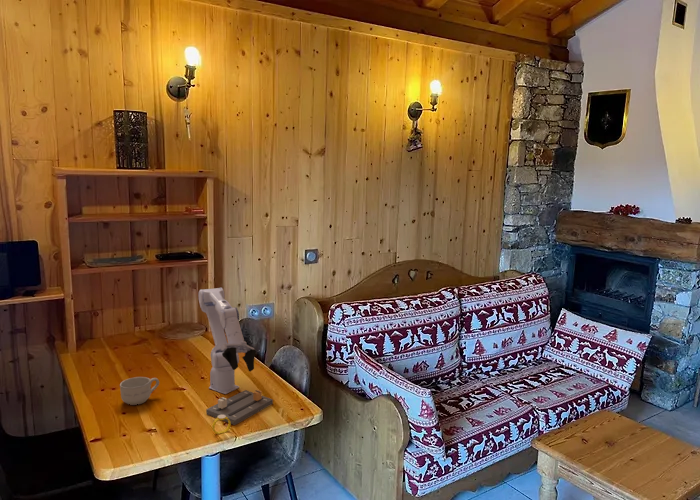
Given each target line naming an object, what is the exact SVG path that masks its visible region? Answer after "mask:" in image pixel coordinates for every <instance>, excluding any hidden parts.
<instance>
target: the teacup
mask: <svg viewBox="0 0 700 500" xmlns="http://www.w3.org/2000/svg"><path fill="white" fill-rule="evenodd" d="M154 381H155V382H156V383H155V385H154V386H152V383H153V382H154ZM159 385H160V381H159V379H158V378H157V377H152V378H149V377H146V376H135V377H130V378H126V379H124V380H122V381H121V382H120V384H119V388H120V390H119V391H120V398H121V400H122V402H123V403H125V404H127V405H129V404H130V406H135V405H136V406H138V405H141V404H144V403H145V402H147V400H148V399H149V398H150V397H151V394H152V393H153V392H154V391H155V390H156V389H157V387H159ZM151 387H152V388H151ZM137 404H138V405H137Z"/></svg>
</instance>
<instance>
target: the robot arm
mask: <svg viewBox="0 0 700 500" xmlns="http://www.w3.org/2000/svg"><path fill="white" fill-rule="evenodd" d="M197 295H198V302H199V307H200V309H201V312H203V313H205V314H206V316H207V319H208V323H209V327H210V330H211V335H212V338H213V342H214V347H213V348H212V349H211V351H210V360H211V366H212V367H211V369H210V373H209V376H210V378H209V380H210V382H209V383H210V385H209V387H208V389H209V390H213V391H215V392H218V393H220V394H224V395H226V394H227V395H228V393H231V392H234V391H235V390H237V389H239V388H240V386H239V385H237V384H235V381H236V380H235V371H236V370H237V369H238V368H239V363H240V356H239V353H240V354H241V353H244V356H242V357H241V358H242V360H243V361H244V362H245V364H246V367H247V370H248V372H250V373H251V372H252V371H253V370H255V357H256V353H257V352H256V349H255V348H254V347H252V346H251V345H248V344H247V341H245V339H244V335H243V332H242V328H241V325H240V322H239V321H240V312H239V309H238V307H237V306H236V307H233V306H232V305H231V304H230V302H229V301H228V300H226V299H225V291H224V288H223V287H217V288H216V287H215V288H206V289H205V288H204V289H199V291H198V294H197Z"/></svg>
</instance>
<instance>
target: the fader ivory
mask: <svg viewBox="0 0 700 500" xmlns="http://www.w3.org/2000/svg"><path fill="white" fill-rule="evenodd" d="M227 399H228V398H226V397H220V398H219V399H217V404H218V408H221V409H223V408H225V407H227Z"/></svg>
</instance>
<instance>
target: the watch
mask: <svg viewBox="0 0 700 500" xmlns="http://www.w3.org/2000/svg"><path fill="white" fill-rule="evenodd" d="M224 419H228V418H227V417H226V416H225V415H218V416H217V418H215V419H214V420H213V422H212V424H211V428H212V431H213V432H214V434H216V435H221V434H225V433H228V431H229V430H230V428H231V425H232V424H231V422H230V420H229V419H228V422H227V423H228V424H227V427H226V428H225V429H224V430H219V431H216V429H215V426H216V424H217V423H218V422H219V421H223V420H224Z"/></svg>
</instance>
